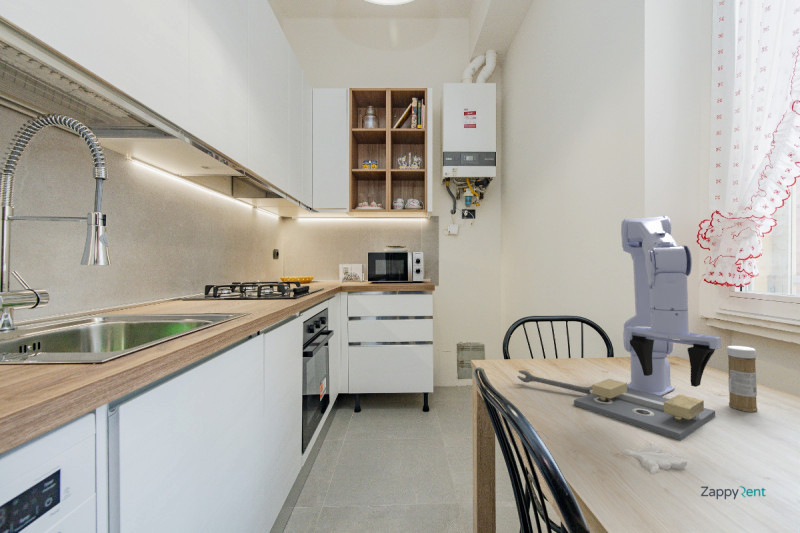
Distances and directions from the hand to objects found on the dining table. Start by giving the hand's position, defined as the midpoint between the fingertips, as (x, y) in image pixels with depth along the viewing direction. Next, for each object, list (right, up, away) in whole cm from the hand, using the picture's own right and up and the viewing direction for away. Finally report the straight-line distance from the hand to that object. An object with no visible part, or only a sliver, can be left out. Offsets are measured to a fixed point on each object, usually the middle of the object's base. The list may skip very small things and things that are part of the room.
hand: (670, 379), depth 66 cm
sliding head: (+4, -8, +2) cm, 9 cm away
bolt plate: (+1, -10, +9) cm, 14 cm away
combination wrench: (-11, -10, +23) cm, 28 cm away
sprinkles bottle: (+23, -10, +10) cm, 27 cm away
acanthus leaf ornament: (-11, -11, -10) cm, 18 cm away
